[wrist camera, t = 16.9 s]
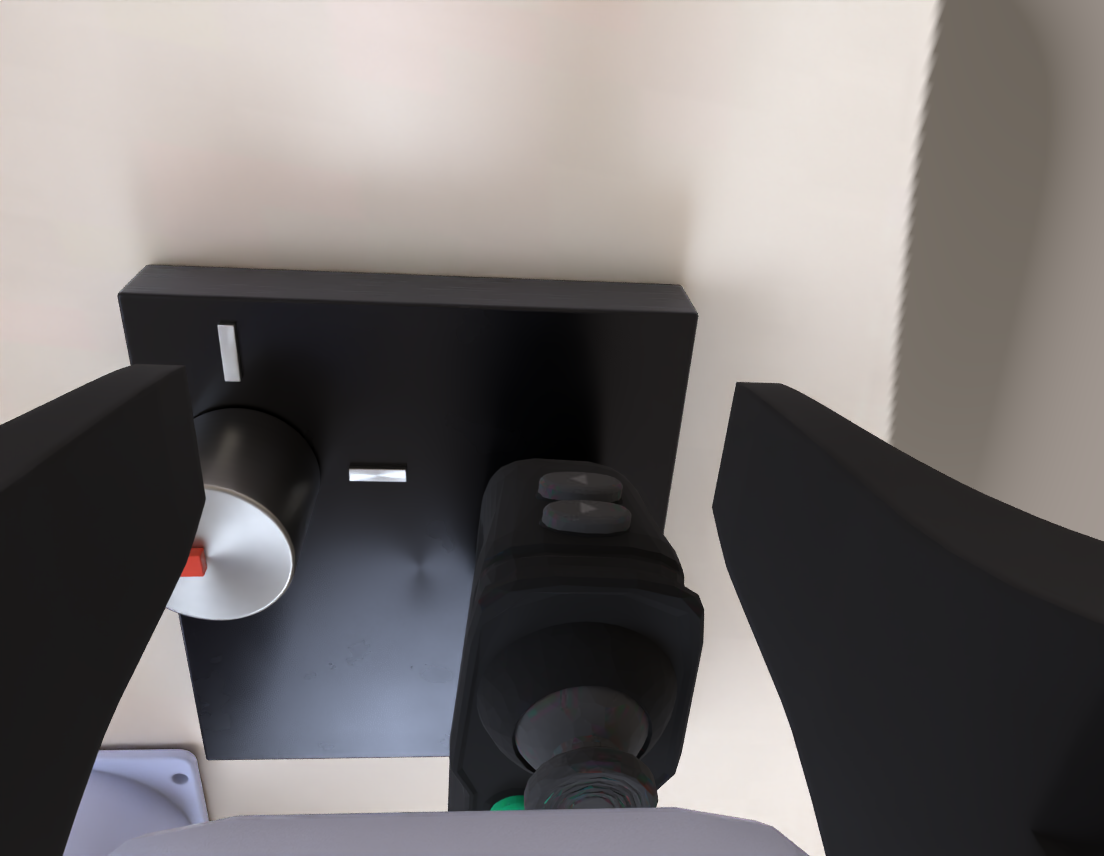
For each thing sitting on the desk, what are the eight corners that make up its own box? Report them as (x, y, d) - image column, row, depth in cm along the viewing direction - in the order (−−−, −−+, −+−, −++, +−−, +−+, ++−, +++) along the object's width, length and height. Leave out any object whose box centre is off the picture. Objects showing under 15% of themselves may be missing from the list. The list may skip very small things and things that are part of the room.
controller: (649, 369, 21) (772, 685, 12) (582, 729, 27) (632, 1112, 18) (468, 357, 20) (460, 675, 11) (442, 726, 26) (424, 1119, 17)
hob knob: (313, 406, 20) (282, 494, 17) (326, 529, 22) (301, 630, 19) (156, 406, 20) (94, 495, 17) (182, 531, 22) (131, 633, 19)
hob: (619, 706, 29) (629, 759, 27) (171, 710, 28) (148, 767, 26) (682, 283, 22) (701, 316, 20) (74, 260, 20) (34, 293, 18)
